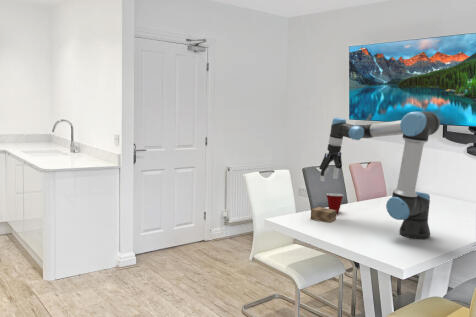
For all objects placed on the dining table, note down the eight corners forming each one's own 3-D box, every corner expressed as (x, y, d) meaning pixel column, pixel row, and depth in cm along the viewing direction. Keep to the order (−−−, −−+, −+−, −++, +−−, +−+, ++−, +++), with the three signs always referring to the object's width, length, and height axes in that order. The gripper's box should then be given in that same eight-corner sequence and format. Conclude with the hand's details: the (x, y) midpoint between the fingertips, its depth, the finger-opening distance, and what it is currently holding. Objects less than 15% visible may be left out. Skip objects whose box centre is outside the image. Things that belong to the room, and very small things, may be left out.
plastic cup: (341, 211, 282) (342, 192, 280) (343, 215, 271) (345, 196, 270) (324, 210, 283) (325, 191, 282) (325, 214, 272) (326, 195, 271)
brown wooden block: (335, 220, 260) (336, 210, 259) (329, 223, 253) (330, 212, 252) (317, 216, 267) (317, 206, 266) (310, 219, 259) (311, 209, 259)
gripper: (341, 142, 267) (334, 175, 272) (317, 144, 249) (310, 180, 254) (351, 144, 262) (345, 179, 267) (328, 147, 244) (321, 184, 249)
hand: (328, 179), depth 261 cm, fingers open, 13 cm apart
